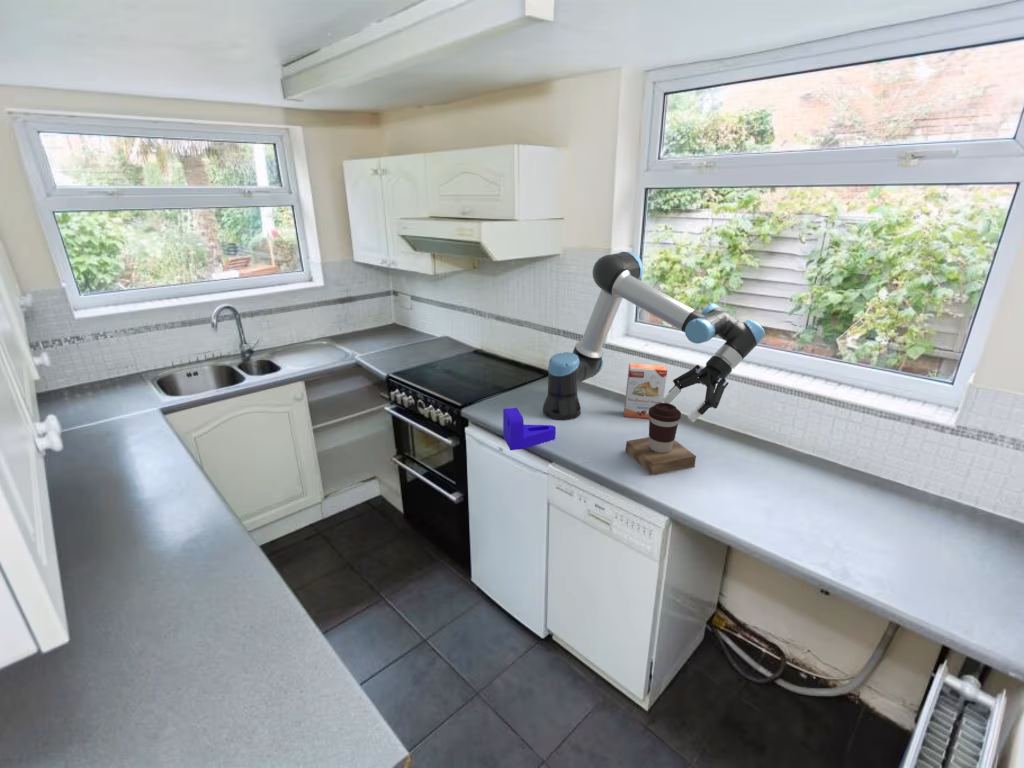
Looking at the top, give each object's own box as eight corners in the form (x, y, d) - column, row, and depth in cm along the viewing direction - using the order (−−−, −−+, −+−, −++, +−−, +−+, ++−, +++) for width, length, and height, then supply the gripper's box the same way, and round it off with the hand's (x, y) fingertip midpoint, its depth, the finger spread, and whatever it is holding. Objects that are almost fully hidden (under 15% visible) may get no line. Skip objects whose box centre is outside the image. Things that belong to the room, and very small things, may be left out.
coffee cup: (645, 454, 163) (650, 411, 157) (643, 439, 172) (648, 399, 166) (677, 457, 161) (683, 414, 156) (673, 442, 170) (679, 401, 165)
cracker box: (624, 417, 197) (629, 367, 190) (623, 411, 203) (628, 362, 195) (661, 420, 195) (667, 370, 187) (659, 414, 201) (666, 364, 193)
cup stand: (625, 451, 173) (626, 440, 171) (665, 444, 177) (666, 434, 176) (651, 475, 158) (653, 464, 157) (694, 466, 163) (696, 456, 162)
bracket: (510, 450, 173) (510, 419, 169) (503, 436, 183) (503, 406, 178) (560, 444, 177) (561, 414, 173) (550, 431, 187) (551, 402, 182)
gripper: (757, 382, 151) (708, 434, 153) (703, 357, 173) (661, 402, 175) (746, 368, 148) (695, 420, 149) (692, 343, 170) (649, 390, 171)
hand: (677, 411), depth 162 cm, fingers open, 13 cm apart
